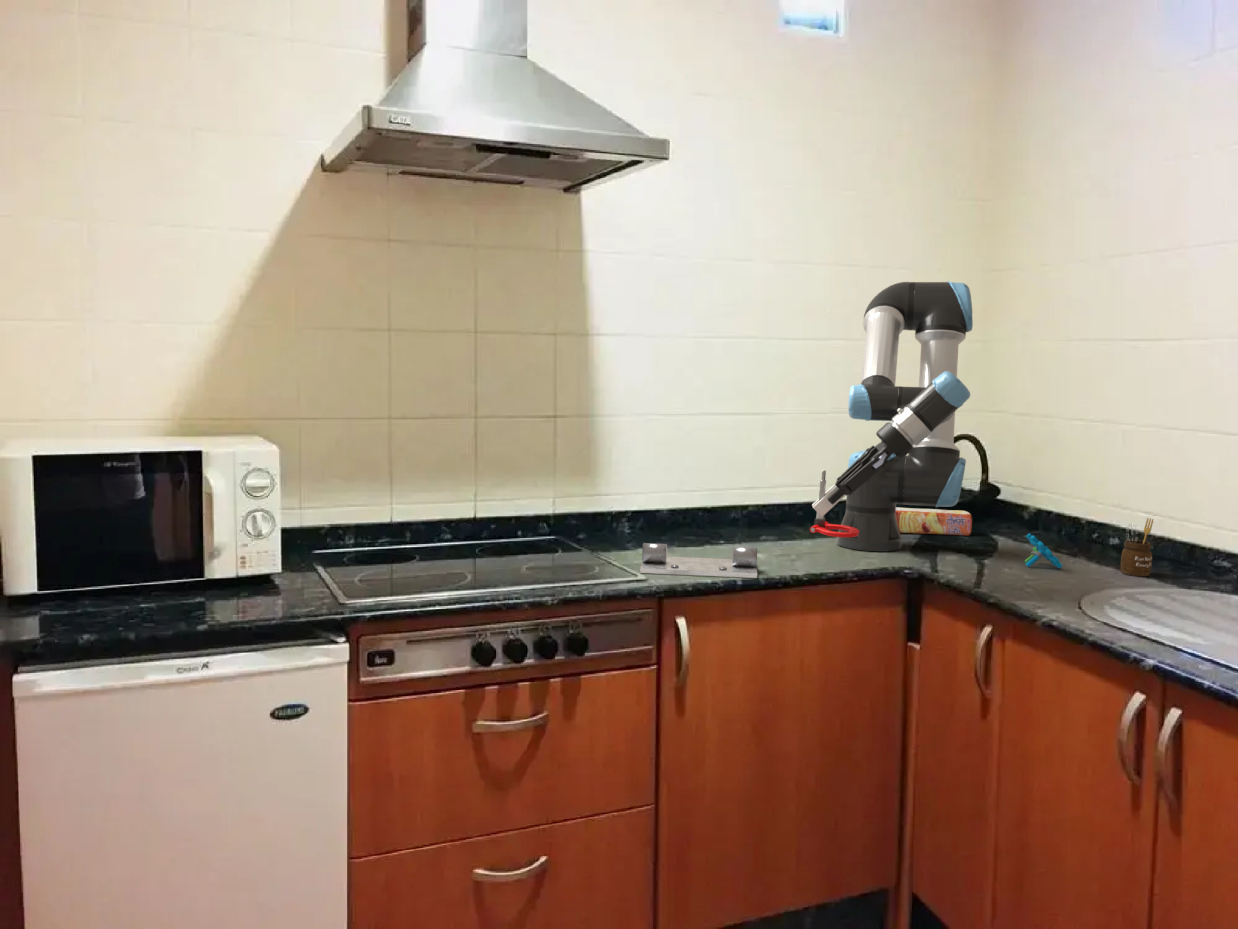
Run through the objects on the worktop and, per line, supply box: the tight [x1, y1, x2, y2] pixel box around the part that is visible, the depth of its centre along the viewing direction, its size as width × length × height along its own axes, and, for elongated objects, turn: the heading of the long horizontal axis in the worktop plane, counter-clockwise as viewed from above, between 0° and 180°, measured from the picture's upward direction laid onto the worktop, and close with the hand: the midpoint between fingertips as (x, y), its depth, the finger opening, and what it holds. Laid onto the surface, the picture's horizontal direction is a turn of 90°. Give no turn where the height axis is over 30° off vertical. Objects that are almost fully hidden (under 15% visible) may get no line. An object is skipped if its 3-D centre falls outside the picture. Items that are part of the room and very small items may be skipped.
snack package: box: [896, 506, 973, 537], centre depth 266 cm, size 21×7×7 cm, turn 86°
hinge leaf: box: [639, 542, 758, 579], centre depth 217 cm, size 13×24×5 cm, turn 84°
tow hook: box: [809, 469, 859, 538], centre depth 212 cm, size 8×13×9 cm
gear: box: [1024, 533, 1064, 570], centre depth 227 cm, size 11×6×10 cm
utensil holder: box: [1120, 517, 1154, 577], centre depth 221 cm, size 6×6×12 cm
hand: (816, 510), depth 215 cm, fingers closed on tow hook, 1 cm apart
